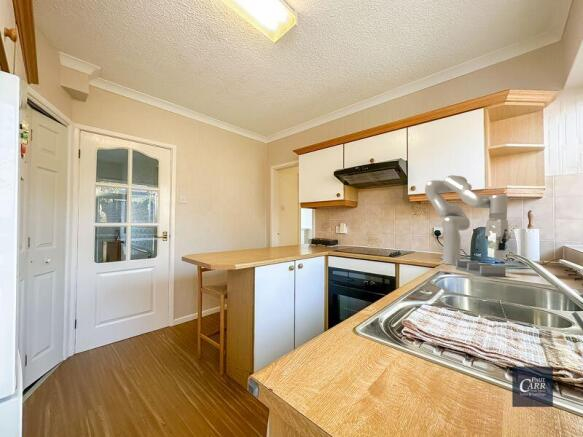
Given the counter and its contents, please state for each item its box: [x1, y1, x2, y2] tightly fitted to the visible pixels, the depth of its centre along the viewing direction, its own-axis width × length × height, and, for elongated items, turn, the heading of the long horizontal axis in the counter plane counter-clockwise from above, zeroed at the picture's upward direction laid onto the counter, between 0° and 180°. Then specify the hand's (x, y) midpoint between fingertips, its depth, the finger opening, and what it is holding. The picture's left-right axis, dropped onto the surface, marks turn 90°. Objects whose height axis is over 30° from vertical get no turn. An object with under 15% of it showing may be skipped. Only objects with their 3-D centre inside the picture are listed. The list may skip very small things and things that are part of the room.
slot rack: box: [455, 260, 507, 277], centre depth 132 cm, size 17×13×5 cm
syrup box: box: [486, 233, 507, 260], centre depth 135 cm, size 6×6×14 cm
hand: (496, 248), depth 135 cm, fingers closed on syrup box, 5 cm apart
